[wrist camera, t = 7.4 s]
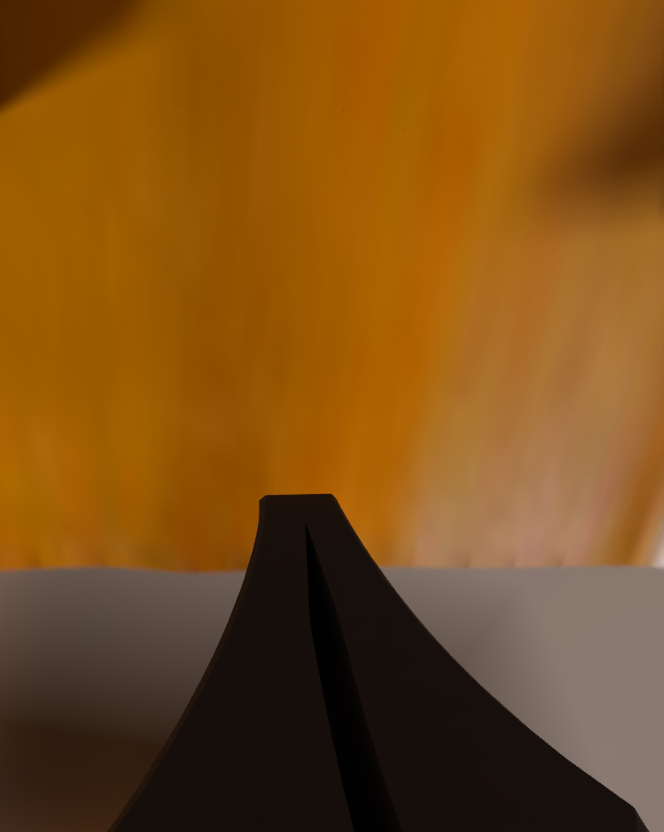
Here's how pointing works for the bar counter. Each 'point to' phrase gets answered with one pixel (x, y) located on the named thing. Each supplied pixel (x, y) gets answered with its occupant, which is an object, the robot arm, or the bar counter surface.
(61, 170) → the bar counter surface
